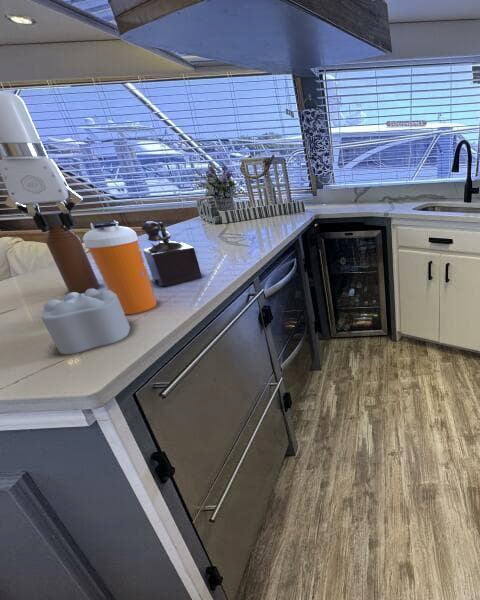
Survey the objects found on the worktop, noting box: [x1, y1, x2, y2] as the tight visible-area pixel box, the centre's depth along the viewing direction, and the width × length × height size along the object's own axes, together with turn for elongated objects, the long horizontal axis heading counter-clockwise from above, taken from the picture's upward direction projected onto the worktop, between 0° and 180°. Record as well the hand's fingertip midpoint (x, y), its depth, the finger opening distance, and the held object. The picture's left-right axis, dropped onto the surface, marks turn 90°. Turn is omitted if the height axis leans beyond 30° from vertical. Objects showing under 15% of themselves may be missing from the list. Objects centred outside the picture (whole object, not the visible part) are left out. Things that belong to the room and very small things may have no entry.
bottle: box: [45, 225, 101, 294], centre depth 86 cm, size 6×6×20 cm
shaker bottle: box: [82, 219, 158, 315], centre depth 72 cm, size 9×9×20 cm
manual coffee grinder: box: [141, 221, 202, 287], centre depth 90 cm, size 16×11×18 cm
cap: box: [40, 211, 65, 227], centre depth 82 cm, size 4×4×3 cm
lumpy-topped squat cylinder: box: [40, 289, 131, 355], centre depth 62 cm, size 10×13×9 cm
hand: (58, 229), depth 83 cm, fingers closed on cap, 4 cm apart
